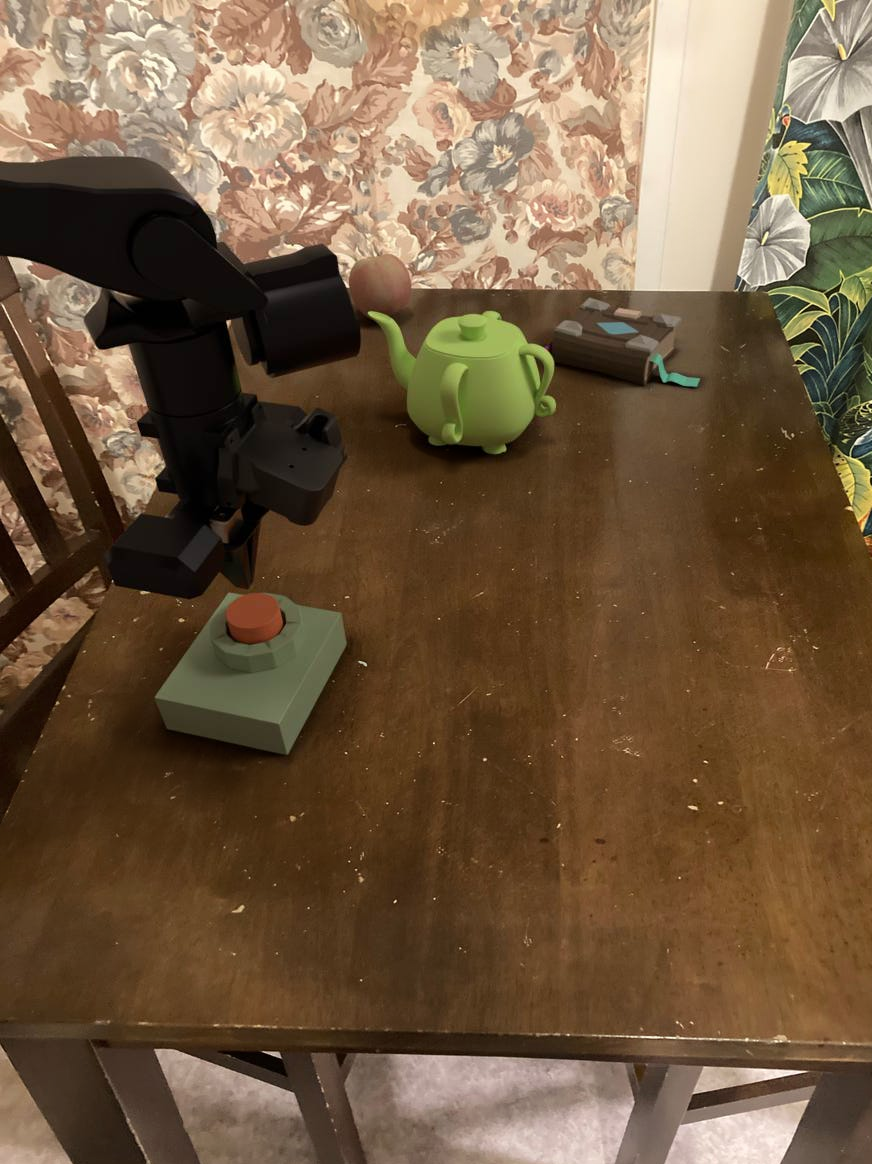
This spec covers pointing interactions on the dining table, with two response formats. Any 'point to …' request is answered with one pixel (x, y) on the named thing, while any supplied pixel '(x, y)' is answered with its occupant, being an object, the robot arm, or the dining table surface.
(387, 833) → the dining table surface
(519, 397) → the teapot
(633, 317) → the book
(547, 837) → the dining table surface
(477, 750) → the dining table surface
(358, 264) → the apple
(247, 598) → the lid button
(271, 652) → the push button box
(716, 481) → the dining table surface
